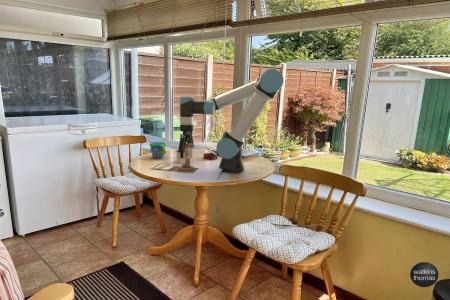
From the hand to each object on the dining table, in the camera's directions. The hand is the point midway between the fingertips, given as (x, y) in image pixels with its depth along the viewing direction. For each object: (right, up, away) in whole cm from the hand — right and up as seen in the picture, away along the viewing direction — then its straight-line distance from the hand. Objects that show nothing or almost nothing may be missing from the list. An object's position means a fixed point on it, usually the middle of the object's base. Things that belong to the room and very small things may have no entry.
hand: (186, 160), depth 176 cm
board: (-7, -6, +3) cm, 10 cm away
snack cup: (-24, +1, +36) cm, 43 cm away
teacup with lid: (-4, -2, +22) cm, 23 cm away
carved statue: (0, -5, +1) cm, 5 cm away
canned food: (+12, 0, +38) cm, 40 cm away
